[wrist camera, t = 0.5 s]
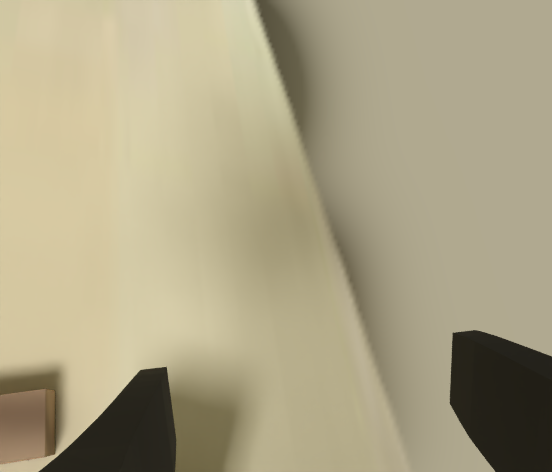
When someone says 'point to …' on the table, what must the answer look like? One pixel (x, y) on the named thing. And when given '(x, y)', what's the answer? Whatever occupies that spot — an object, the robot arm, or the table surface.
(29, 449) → the walnut pocket
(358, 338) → the table surface
